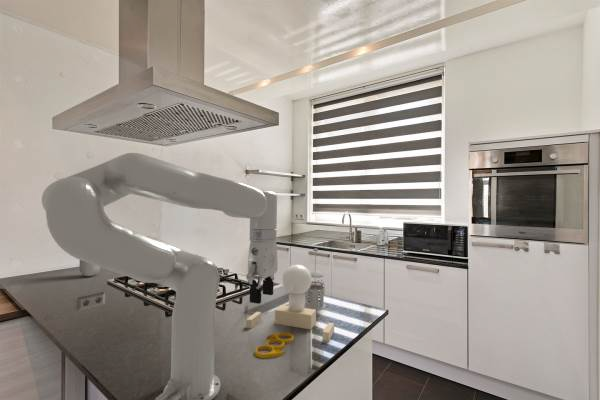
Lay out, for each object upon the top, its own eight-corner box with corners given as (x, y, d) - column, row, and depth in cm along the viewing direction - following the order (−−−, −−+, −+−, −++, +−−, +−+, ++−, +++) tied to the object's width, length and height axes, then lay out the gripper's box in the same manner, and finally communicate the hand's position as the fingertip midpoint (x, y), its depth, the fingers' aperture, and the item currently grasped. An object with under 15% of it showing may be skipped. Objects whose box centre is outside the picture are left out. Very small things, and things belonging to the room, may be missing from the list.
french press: (318, 301, 136) (319, 246, 136) (332, 309, 126) (333, 250, 126) (299, 304, 132) (300, 247, 132) (312, 312, 121) (313, 251, 122)
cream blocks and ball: (328, 341, 96) (329, 275, 96) (246, 327, 106) (247, 267, 106) (339, 322, 112) (339, 265, 112) (266, 311, 121) (267, 259, 122)
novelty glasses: (302, 341, 97) (277, 333, 103) (302, 336, 97) (277, 329, 103) (272, 364, 83) (245, 354, 88) (272, 358, 83) (245, 348, 88)
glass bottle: (84, 274, 177) (85, 227, 177) (103, 273, 179) (104, 227, 179) (75, 278, 167) (77, 228, 167) (96, 277, 170) (97, 228, 170)
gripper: (261, 239, 74) (259, 310, 74) (286, 233, 91) (285, 291, 91) (234, 237, 77) (233, 306, 77) (264, 231, 93) (263, 288, 93)
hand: (261, 297), depth 84 cm, fingers open, 7 cm apart
